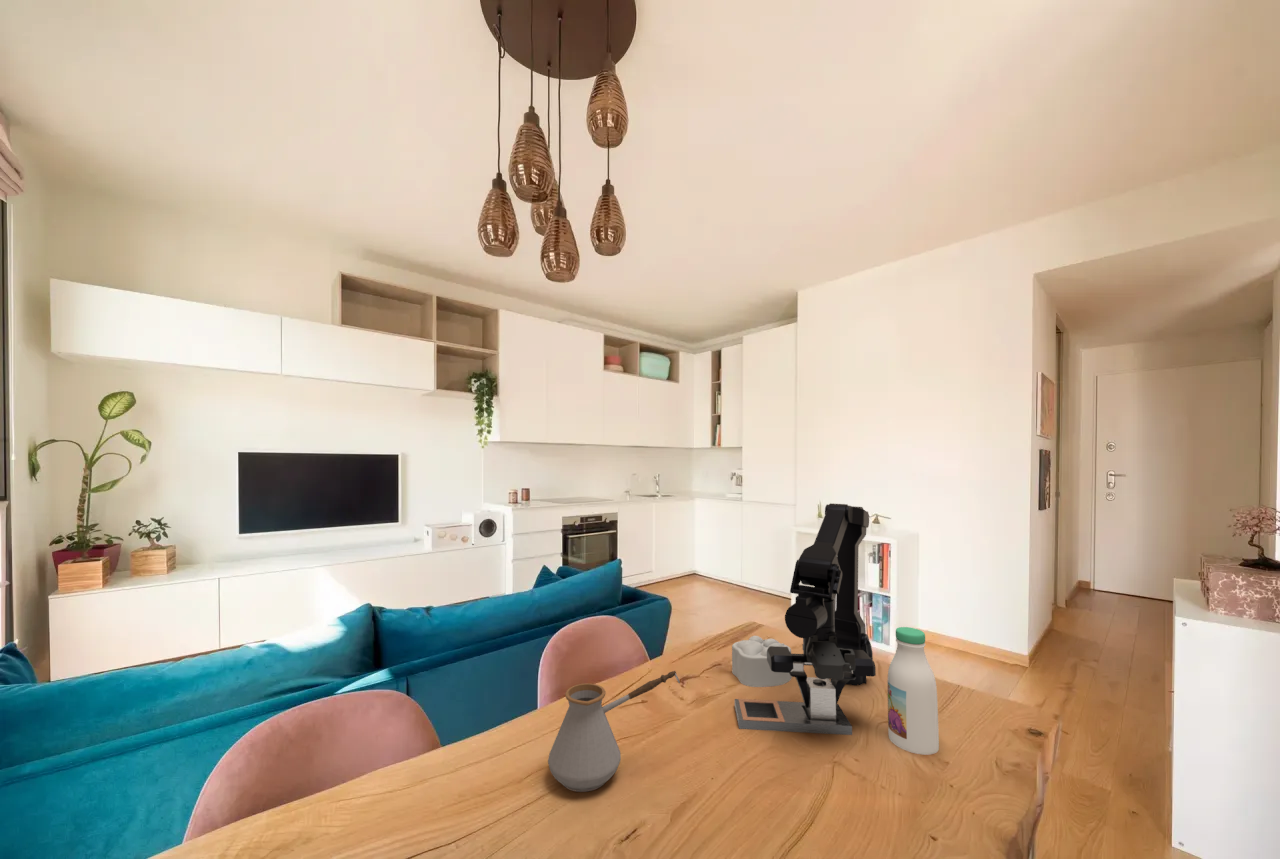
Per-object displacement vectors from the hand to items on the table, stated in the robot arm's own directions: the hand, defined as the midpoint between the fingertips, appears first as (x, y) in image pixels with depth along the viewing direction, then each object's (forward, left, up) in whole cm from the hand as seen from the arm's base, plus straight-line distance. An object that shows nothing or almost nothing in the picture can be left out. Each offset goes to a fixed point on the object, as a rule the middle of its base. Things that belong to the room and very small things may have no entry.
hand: (819, 707), depth 92 cm
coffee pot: (+37, +17, -4) cm, 40 cm away
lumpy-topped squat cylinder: (+8, -19, -4) cm, 21 cm away
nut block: (0, 0, -2) cm, 2 cm away
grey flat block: (+6, 0, -4) cm, 7 cm away
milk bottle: (-14, +5, -4) cm, 16 cm away
